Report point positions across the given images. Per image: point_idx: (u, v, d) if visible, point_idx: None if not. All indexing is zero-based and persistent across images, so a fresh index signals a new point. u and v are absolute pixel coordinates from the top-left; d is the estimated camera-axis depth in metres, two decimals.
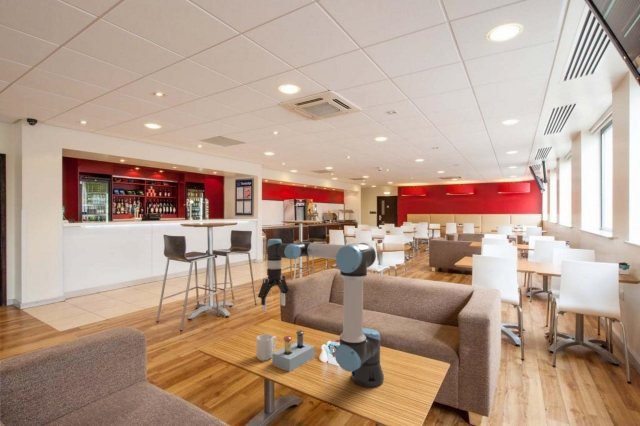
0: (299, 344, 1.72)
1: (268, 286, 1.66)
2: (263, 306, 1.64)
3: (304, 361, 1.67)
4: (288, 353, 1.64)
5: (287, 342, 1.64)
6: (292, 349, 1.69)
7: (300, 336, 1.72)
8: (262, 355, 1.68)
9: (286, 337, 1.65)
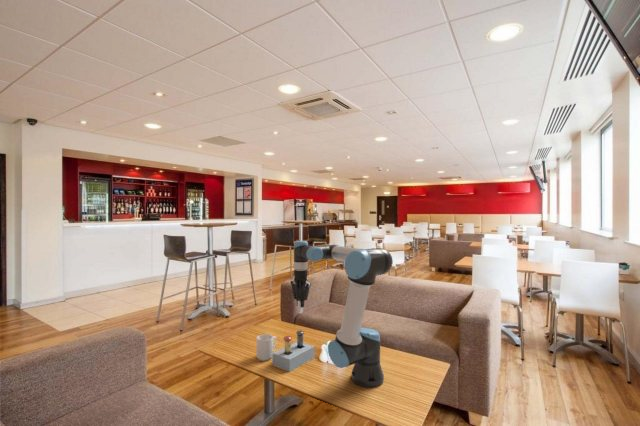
0: (299, 344, 1.72)
1: None
2: None
3: (304, 361, 1.67)
4: (288, 353, 1.64)
5: (287, 342, 1.64)
6: (292, 349, 1.69)
7: (300, 336, 1.72)
8: (262, 355, 1.68)
9: (286, 337, 1.65)
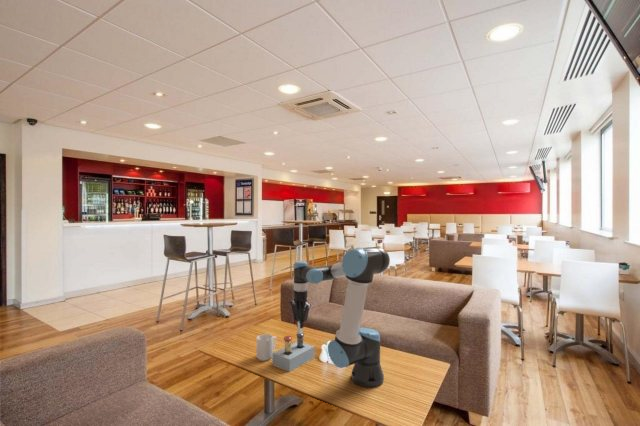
0: (299, 346, 1.72)
1: None
2: None
3: (304, 361, 1.67)
4: (288, 353, 1.64)
5: (287, 342, 1.64)
6: (292, 349, 1.69)
7: (300, 338, 1.72)
8: (262, 355, 1.68)
9: (286, 337, 1.65)
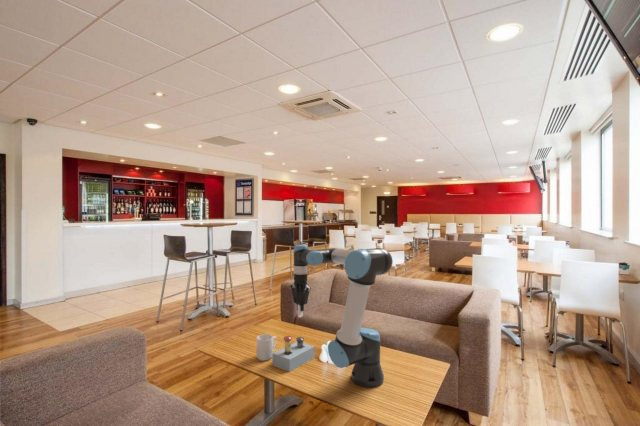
0: None
1: None
2: None
3: (304, 361, 1.67)
4: (288, 353, 1.64)
5: (287, 342, 1.64)
6: (292, 349, 1.69)
7: (300, 343, 1.72)
8: (262, 355, 1.68)
9: (286, 337, 1.65)
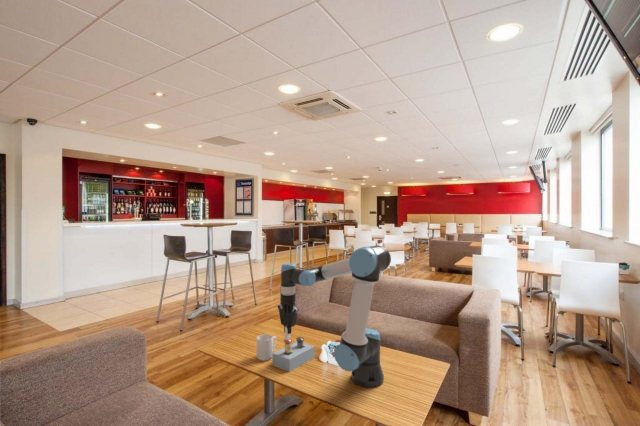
0: None
1: None
2: None
3: (304, 361, 1.67)
4: None
5: (287, 344, 1.64)
6: (292, 349, 1.69)
7: (300, 343, 1.72)
8: (262, 355, 1.68)
9: None
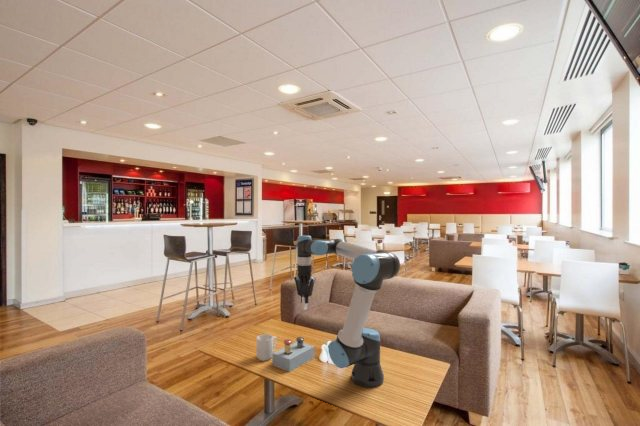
0: None
1: None
2: None
3: (304, 361, 1.67)
4: None
5: (287, 346, 1.64)
6: (292, 349, 1.69)
7: (300, 343, 1.72)
8: (262, 355, 1.68)
9: (286, 340, 1.65)
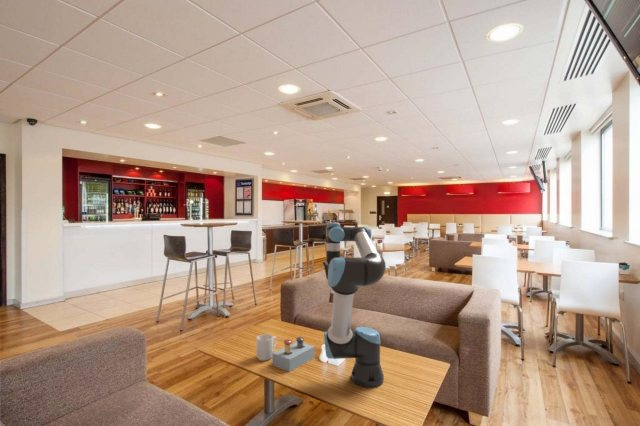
0: None
1: None
2: None
3: (304, 361, 1.67)
4: None
5: (287, 346, 1.64)
6: (292, 349, 1.69)
7: (300, 343, 1.72)
8: (262, 355, 1.68)
9: (286, 340, 1.65)
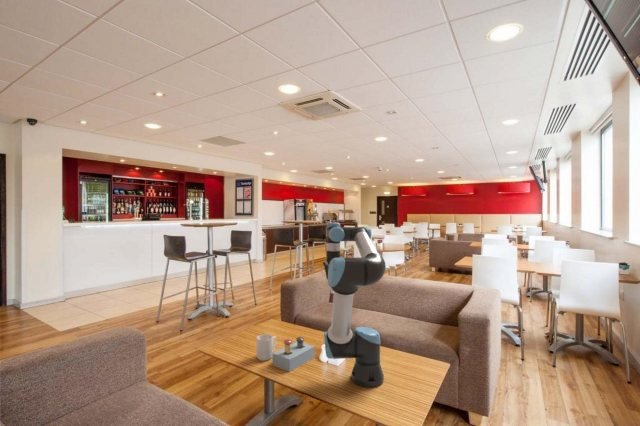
0: None
1: None
2: None
3: (304, 361, 1.67)
4: None
5: (287, 346, 1.64)
6: (292, 349, 1.69)
7: (300, 343, 1.72)
8: (262, 355, 1.68)
9: (286, 340, 1.65)
